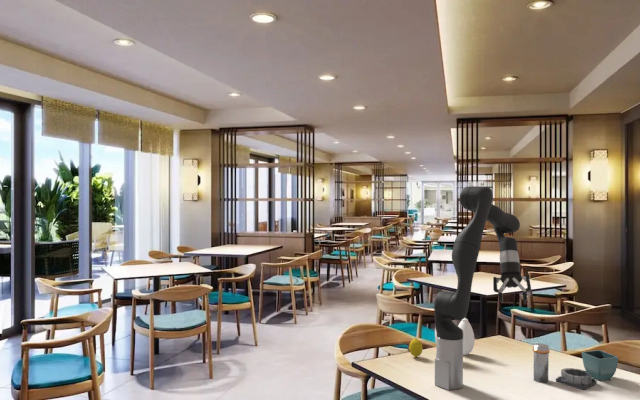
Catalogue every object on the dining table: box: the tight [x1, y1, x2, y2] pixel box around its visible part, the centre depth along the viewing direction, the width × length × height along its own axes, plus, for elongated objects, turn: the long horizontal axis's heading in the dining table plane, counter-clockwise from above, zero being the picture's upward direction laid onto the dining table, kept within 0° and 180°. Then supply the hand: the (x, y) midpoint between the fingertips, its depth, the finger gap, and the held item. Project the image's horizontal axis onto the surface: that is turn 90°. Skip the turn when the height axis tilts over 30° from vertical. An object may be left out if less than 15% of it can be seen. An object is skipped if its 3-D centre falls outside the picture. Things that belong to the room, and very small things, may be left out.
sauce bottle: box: [457, 317, 475, 356], centre depth 210 cm, size 8×8×18 cm
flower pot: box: [581, 349, 619, 382], centre depth 183 cm, size 9×9×9 cm
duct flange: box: [555, 367, 598, 391], centre depth 178 cm, size 10×10×4 cm
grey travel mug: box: [532, 342, 551, 384], centre depth 180 cm, size 6×6×13 cm
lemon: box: [408, 338, 424, 358], centre depth 205 cm, size 6×6×8 cm
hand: (513, 302), depth 196 cm, fingers open, 8 cm apart
